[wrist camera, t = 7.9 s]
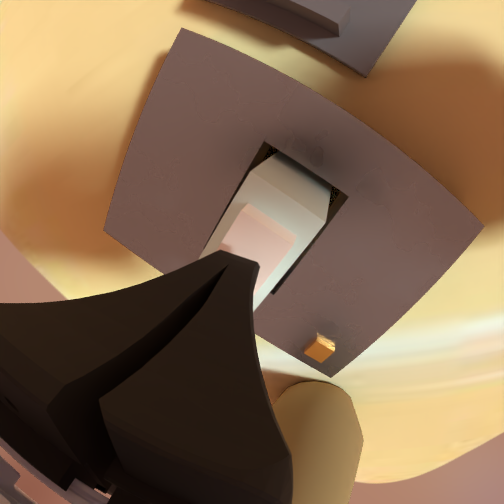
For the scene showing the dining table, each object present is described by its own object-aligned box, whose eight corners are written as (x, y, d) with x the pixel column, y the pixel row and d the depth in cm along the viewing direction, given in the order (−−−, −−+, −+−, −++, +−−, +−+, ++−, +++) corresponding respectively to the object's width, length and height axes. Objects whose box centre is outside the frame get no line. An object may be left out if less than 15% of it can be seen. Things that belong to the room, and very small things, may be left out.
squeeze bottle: (361, 428, 23) (325, 617, 8) (273, 424, 26) (209, 597, 10) (370, 369, 20) (331, 628, 5) (261, 366, 23) (163, 591, 7)
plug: (332, 181, 15) (324, 231, 10) (280, 250, 18) (245, 326, 12) (283, 147, 15) (243, 176, 10) (236, 220, 18) (181, 282, 12)
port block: (463, 205, 14) (486, 228, 11) (334, 344, 20) (330, 381, 17) (208, 38, 14) (178, 26, 11) (131, 212, 20) (100, 232, 17)
